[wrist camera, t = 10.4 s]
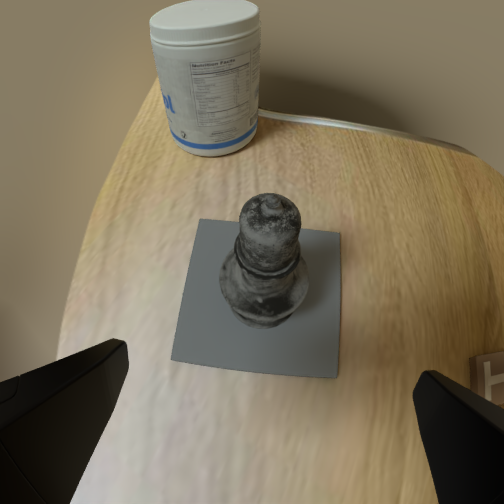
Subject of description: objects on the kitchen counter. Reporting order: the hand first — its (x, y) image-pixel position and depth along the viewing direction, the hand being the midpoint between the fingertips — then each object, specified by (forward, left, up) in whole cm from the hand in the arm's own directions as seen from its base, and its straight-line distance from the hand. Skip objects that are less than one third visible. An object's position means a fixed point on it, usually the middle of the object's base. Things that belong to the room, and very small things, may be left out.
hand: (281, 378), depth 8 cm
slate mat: (+7, +1, -14) cm, 15 cm away
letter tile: (0, -21, -14) cm, 25 cm away
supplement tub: (+25, +8, -14) cm, 30 cm away
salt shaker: (+7, +1, -13) cm, 15 cm away
